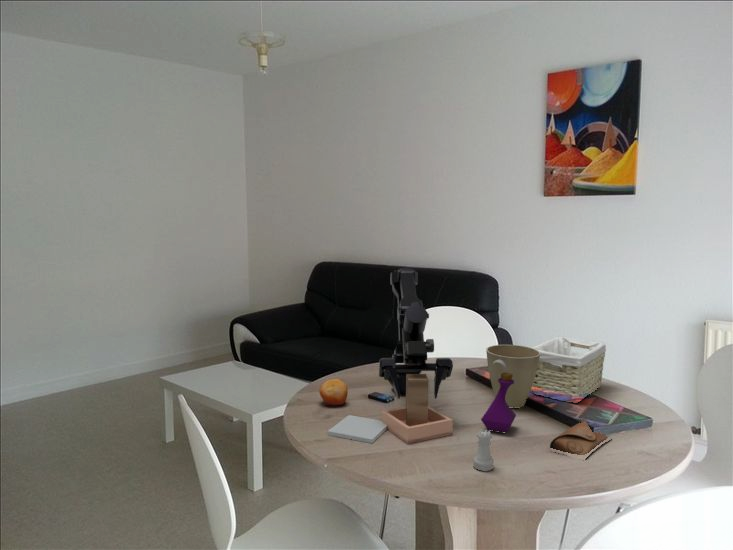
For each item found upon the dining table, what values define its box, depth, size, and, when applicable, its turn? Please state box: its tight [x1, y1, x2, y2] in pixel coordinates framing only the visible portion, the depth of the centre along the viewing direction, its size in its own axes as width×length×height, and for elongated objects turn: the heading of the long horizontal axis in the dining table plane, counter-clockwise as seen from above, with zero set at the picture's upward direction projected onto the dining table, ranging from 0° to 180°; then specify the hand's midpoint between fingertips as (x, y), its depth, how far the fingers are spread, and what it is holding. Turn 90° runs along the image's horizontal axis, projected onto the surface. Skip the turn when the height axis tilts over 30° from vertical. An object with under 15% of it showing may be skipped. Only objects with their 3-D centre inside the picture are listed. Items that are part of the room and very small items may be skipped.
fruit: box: [318, 378, 348, 406], centre depth 157 cm, size 8×8×8 cm
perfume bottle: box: [480, 360, 517, 433], centre depth 138 cm, size 8×8×18 cm
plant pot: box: [485, 344, 540, 408], centre depth 157 cm, size 15×15×16 cm
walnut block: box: [405, 373, 429, 427], centre depth 138 cm, size 5×5×13 cm
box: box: [381, 405, 454, 445], centre depth 138 cm, size 13×13×4 cm
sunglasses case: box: [549, 419, 609, 455], centre depth 130 cm, size 18×7×7 cm, turn 137°
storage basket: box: [531, 336, 607, 397], centre depth 169 cm, size 24×16×15 cm
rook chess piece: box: [472, 429, 495, 472], centre depth 118 cm, size 4×4×8 cm
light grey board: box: [327, 414, 388, 444], centre depth 138 cm, size 12×12×1 cm
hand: (417, 397), depth 136 cm, fingers open, 9 cm apart
